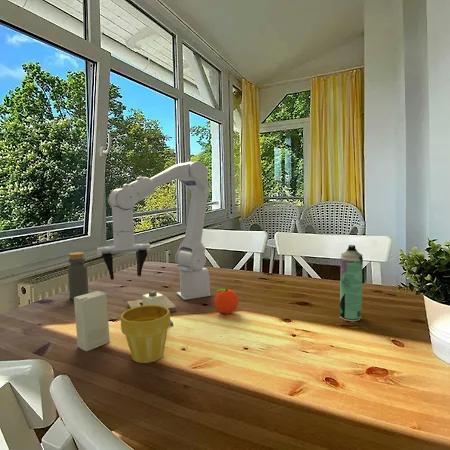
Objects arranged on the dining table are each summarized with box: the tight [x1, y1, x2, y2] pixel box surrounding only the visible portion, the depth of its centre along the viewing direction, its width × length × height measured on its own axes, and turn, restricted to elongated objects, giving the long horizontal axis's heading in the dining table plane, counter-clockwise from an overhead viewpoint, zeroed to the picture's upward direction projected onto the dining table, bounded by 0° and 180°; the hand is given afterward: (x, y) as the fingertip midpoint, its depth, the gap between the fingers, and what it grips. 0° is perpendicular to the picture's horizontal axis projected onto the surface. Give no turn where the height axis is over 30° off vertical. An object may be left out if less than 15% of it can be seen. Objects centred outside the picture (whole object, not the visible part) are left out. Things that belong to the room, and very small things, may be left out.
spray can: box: [339, 244, 364, 321], centre depth 95 cm, size 6×6×20 cm
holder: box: [126, 295, 177, 313], centre depth 107 cm, size 12×12×1 cm
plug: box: [141, 290, 164, 306], centre depth 95 cm, size 4×4×8 cm
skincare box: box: [73, 290, 110, 352], centre depth 82 cm, size 6×4×12 cm
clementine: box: [214, 288, 240, 315], centre depth 102 cm, size 8×7×7 cm
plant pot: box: [120, 305, 171, 364], centre depth 76 cm, size 10×10×10 cm
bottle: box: [67, 251, 89, 301], centre depth 118 cm, size 6×6×15 cm
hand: (125, 277), depth 103 cm, fingers open, 7 cm apart
